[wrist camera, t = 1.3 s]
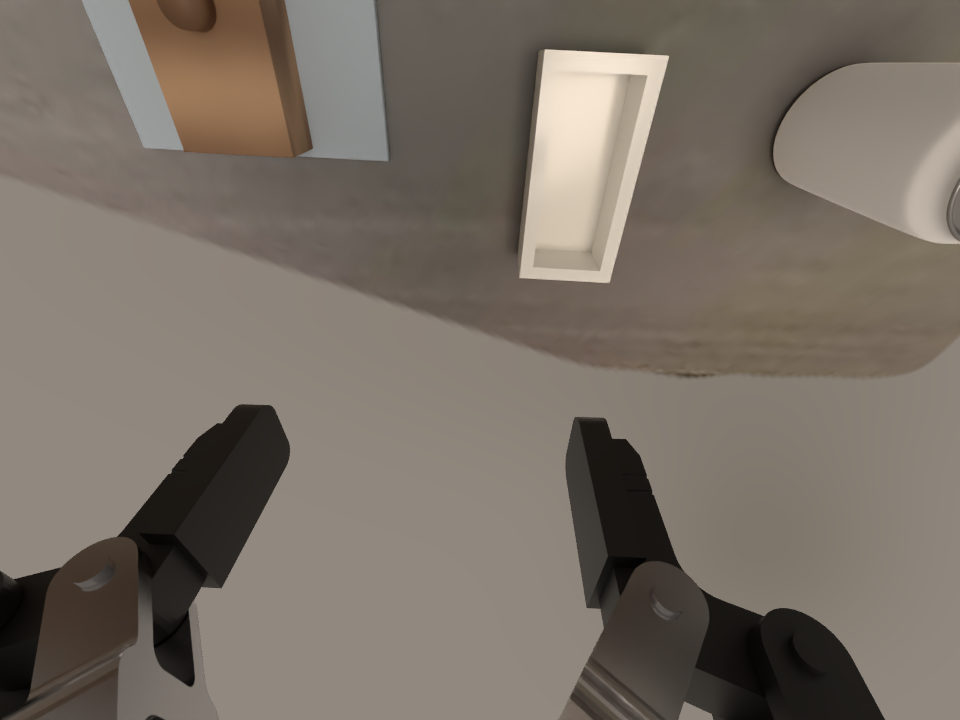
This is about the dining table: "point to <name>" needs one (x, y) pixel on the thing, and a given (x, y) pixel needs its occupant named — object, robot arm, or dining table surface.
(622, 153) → the dish
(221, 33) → the lid
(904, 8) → the dining table surface
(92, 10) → the mat
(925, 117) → the can
